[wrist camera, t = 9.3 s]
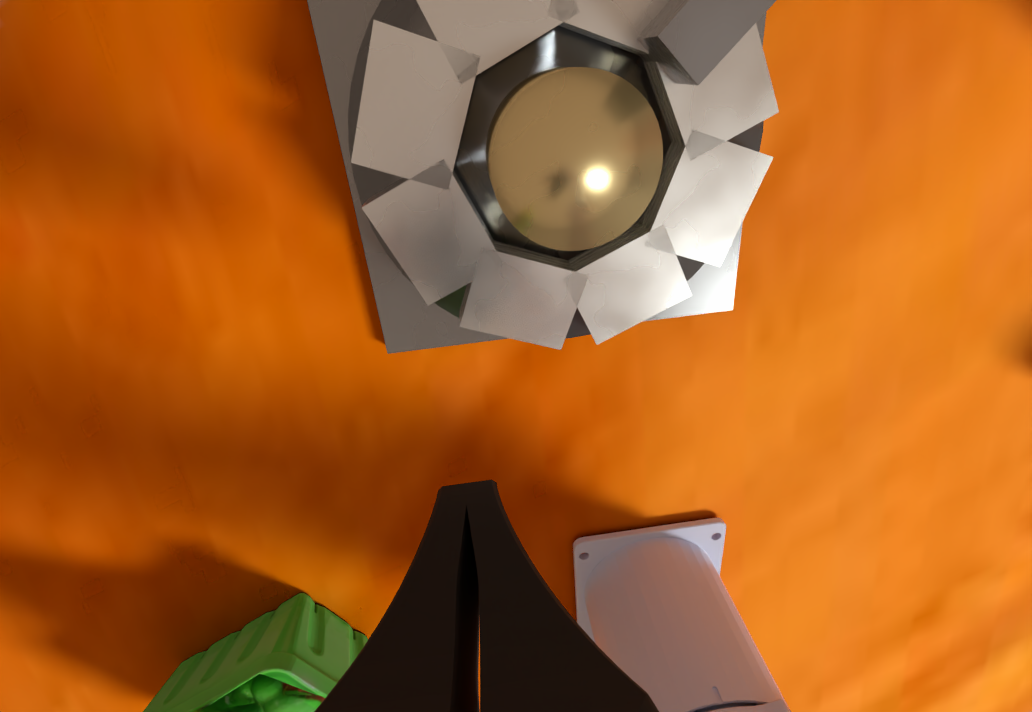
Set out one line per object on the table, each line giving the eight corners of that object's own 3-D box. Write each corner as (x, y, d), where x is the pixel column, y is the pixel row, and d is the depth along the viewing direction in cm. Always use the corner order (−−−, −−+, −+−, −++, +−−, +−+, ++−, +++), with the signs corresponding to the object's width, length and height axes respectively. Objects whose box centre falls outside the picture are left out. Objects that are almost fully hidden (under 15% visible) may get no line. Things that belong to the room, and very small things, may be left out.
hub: (727, 304, 23) (787, 356, 19) (389, 346, 22) (375, 410, 18) (774, -137, 16) (883, -204, 12) (289, -97, 15) (232, -154, 11)
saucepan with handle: (944, -253, 13) (1065, -330, 11) (658, 358, 21) (688, 401, 18) (470, -537, 11) (476, -731, 8) (336, 283, 18) (317, 321, 16)
